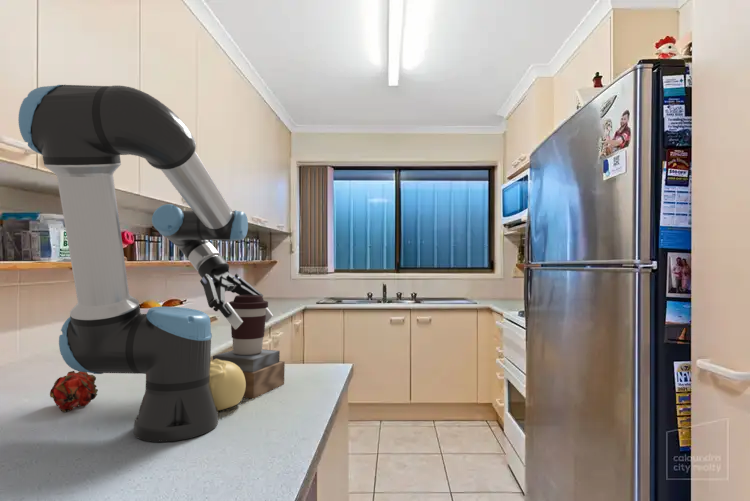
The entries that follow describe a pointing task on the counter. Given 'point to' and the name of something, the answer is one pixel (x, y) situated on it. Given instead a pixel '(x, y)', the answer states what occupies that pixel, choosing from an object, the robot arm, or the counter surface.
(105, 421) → the counter surface
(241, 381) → the pale yellow round lump
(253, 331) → the coffee cup
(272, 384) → the gray topped wooden block
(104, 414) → the counter surface
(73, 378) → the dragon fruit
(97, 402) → the counter surface
